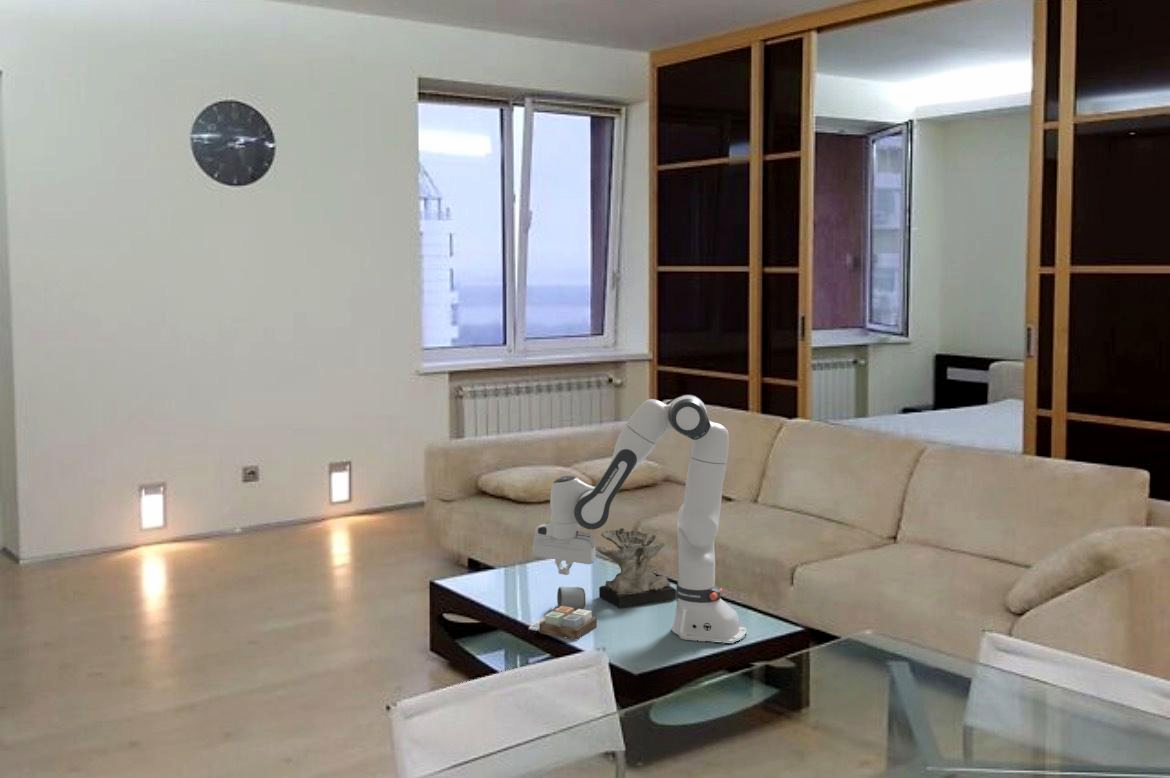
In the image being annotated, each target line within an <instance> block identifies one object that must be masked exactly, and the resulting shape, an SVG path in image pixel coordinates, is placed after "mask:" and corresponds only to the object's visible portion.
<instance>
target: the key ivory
mask: <svg viewBox="0 0 1170 778" xmlns="http://www.w3.org/2000/svg"><path fill="white" fill-rule="evenodd" d="M592 614H593V613H592V610H588V609H578V610H574V612H573V613H572V615H576V616H582V623H586V622H588V621H590V620H591V619H592V617H593V616H592Z"/></svg>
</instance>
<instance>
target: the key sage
mask: <svg viewBox="0 0 1170 778" xmlns="http://www.w3.org/2000/svg"><path fill="white" fill-rule="evenodd" d="M564 617H565V614H564V613H558V612H555V611H554V610H552V611H550V612H549V613H547V614H545V615H544V618H545V624H551V625H556V626H559V625H561V624H562V623H563V618H564Z"/></svg>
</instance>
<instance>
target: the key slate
mask: <svg viewBox="0 0 1170 778" xmlns="http://www.w3.org/2000/svg"><path fill="white" fill-rule="evenodd" d="M580 626H582V616H576V615H570V614H569V615H568V616H566V617H564V618H563V627H568V628H573V629H577V628H579V627H580Z"/></svg>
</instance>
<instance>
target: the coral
mask: <svg viewBox="0 0 1170 778" xmlns="http://www.w3.org/2000/svg"><path fill="white" fill-rule="evenodd" d="M625 530H626V528H625V527H621V528H618V529H615V530H614V529H611V530H604V531H603V532H601V533H600V535H601V537H603V538H604V539H606V540H607V541H608V542H609V541H610V542H612V543H613V544H614V545H615V546H617V548H618V549H611V550H608V549H607V548H606V547H603V545H598V546H595V551H596V552H598V553H600V554H601V555H603V556H605V557H607V558H609V559H610V560H613V561H614V562H615V563H616V564H618V567H619V568H620V572H619V573H617V574H616V575H615V577H614V578H613V579H612V580H606V581H605V584H604V585H601V586H599V587H598V589H599V590H598V592H599V596H598V597H599V598H601V599H602V600H603V601H605V602H607V603H609V604H611V605H613V606H614V607H616V608H617V609H624V608H631V607H633V608H634V607H638V606H646V605H652V604H659V603H665V602H669V601H676V589H675V588H674V587H672V586H670V585H671V583H670V581H669V580H668V578H667V577H666V575H665V574H660V575H656V574H655V573H653V572H652V571H651V569H649V568H647V565H648V562H650V561H651V559H652V558H653V557H655V556H656V555H657V554H658V553H659V551H661V549H663V548H664V547H665V545H666V542H664V541H662V543H661V542H660V544H657V545H652V543H653V542H654V541H655V539H656V537H657V535H655V534H651V536H650V537H648V536H649V535H648V533H647V532H643V531H641V530H635V529H634V530H633V529H632V530H629V531H628V530H626V531H625ZM647 539H648V540H647ZM646 541H647V542H646ZM645 543H646V544H645ZM641 556H643V557H642V558H641Z"/></svg>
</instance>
